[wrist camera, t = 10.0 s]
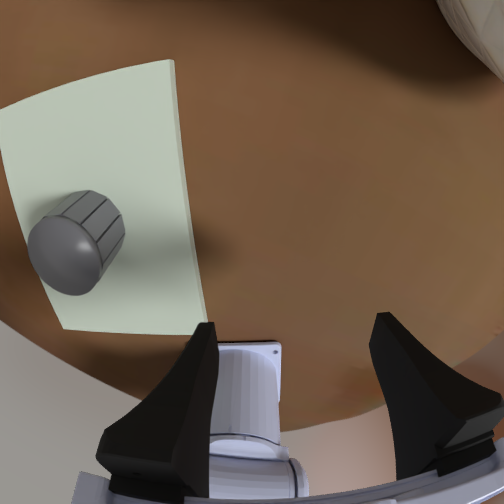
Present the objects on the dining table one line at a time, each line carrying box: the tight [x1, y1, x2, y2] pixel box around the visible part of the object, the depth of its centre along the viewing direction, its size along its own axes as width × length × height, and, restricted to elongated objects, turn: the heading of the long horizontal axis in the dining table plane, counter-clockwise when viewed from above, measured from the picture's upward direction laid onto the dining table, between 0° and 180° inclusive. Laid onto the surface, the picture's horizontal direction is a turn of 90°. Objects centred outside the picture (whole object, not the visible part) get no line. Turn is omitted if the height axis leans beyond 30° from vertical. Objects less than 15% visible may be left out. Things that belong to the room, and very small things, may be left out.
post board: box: [0, 59, 208, 335], centre depth 19 cm, size 20×14×5 cm
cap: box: [27, 190, 125, 296], centre depth 18 cm, size 5×5×4 cm
